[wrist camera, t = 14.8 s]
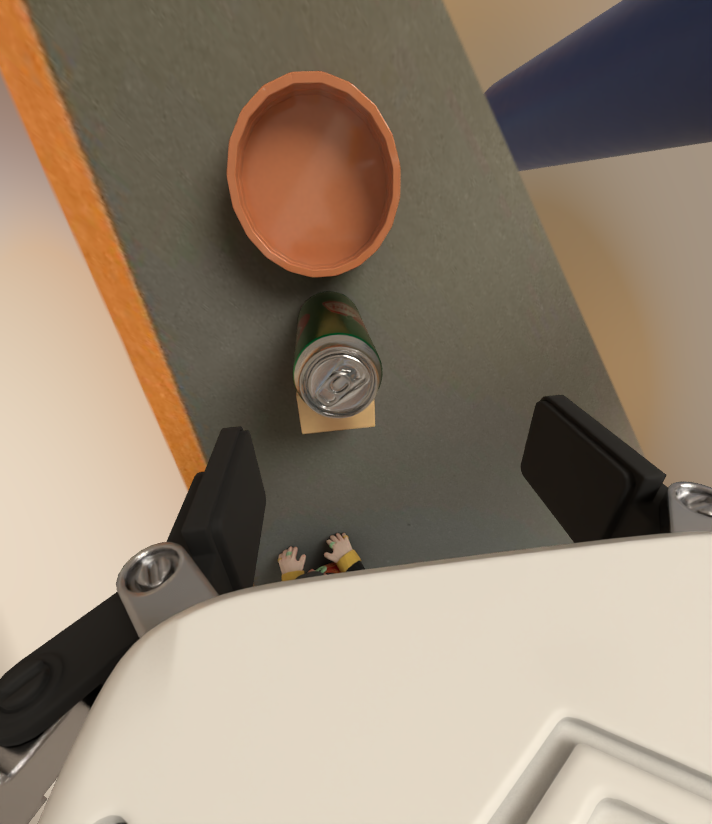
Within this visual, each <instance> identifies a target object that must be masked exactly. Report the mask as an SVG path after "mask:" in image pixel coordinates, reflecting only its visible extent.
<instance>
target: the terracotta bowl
mask: <svg viewBox="0 0 712 824" xmlns="http://www.w3.org/2000/svg"><path fill="white" fill-rule="evenodd" d="M229 141H230V142H229V148H228V161H227V181H228V186H229V191H230V196H231V201H232V206H233V209H234V211H235V213H236V215H237V217H238V219H239V221H240V223H241V225H242V227H243V229H244V231H245V233H246V235H247V236H248V238H249V239H250V240H251V241H252V242H253V243H254V244H255V246H256V247H257V248H258V249H259V250H260V251H261V252H262V253H263V255H264V256H265V257H267V258H268V259H270V260H271V261H273V262H274V263H276V264H277V265H279V266H281V267H282V268H284V269H285V270H287V271H289V272H293V273H297V274H300V275H304V276H308V277H313V278H315V277H328V276H336V275H337V276H338V275H340V274H342V273H345V272H347V271H349V270H352V269H354V268H356V267H358V266H360V265H361V264H362V263H363V262H364V261H366V260H367V259H368V258H369V257H370V256H371V255H372V254H373V253H375V252H376V251H377V250H378V248H379V247H380V245H381V244H382V242H383V240H384V239H385V237H386V235H387V234H388V232H389V231H390V229H391V227H392V225H393V221H394V218H395V214H396V211H397V207H398V204H399V200H400V162H399V158H398V154H397V150H396V146H395V142H394V138H393V135H392V133H391V131H390V129H389V127H388V126H387V124H386V122H385V120H384V119H383V117H382V115H381V114H380V112H379V110H378V108H377V107H376V106H375V104H374V103H373V102H372V101H371V100H369V99H368V98H367V97H366V96H365V95H364V94H363V93H362V92H361V91H360V90H359V89H357V88H356V87H355V86H354V85H353V84H352V83H350V82H348V81H345V80H343V79H340V78H338V77H335V76H333V75H330V74H328V73H325V72H321V71H305V72H291V73H290V72H289V73H287V74H285V75H283V76H281V77H279V78H277V79H275V80H273V81H271V82H269V83H267V84H265V85H263V86H262V87H261V88H260V89H259V90H258V91H257V93H256V94H255V95H254V96H253V97H252V98H251V99H250V101H249V102H248V103H247V104H246V105H245V106H244V107H243V109H242V111H241V112H240V115H239V117H238V120H237V122H236V125H235V127H234V130H233V132H232V135H231V137H230V140H229Z"/></svg>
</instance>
